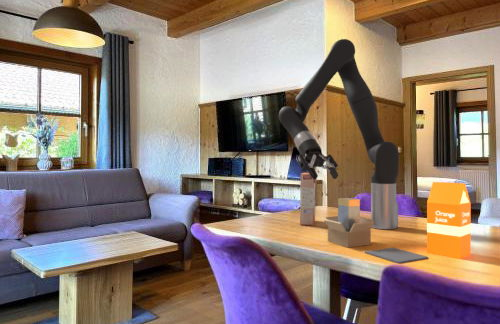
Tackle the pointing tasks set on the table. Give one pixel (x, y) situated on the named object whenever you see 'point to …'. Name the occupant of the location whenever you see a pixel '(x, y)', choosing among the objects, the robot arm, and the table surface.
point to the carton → (354, 237)
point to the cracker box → (307, 199)
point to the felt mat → (396, 255)
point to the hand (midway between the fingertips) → (326, 177)
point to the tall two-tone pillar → (348, 212)
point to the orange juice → (449, 220)
